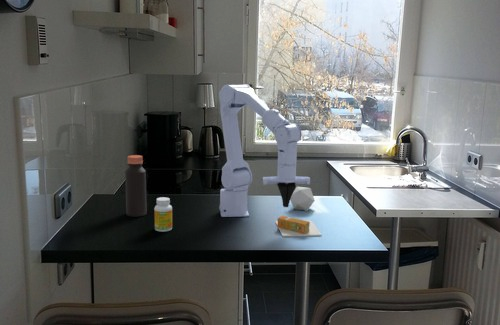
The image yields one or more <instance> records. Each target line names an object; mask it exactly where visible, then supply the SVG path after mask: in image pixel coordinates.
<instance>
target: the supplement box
mask: <svg viewBox="0 0 500 325" xmlns="http://www.w3.org/2000/svg"><path fill="white" fill-rule="evenodd" d="M277 221H278V226H277V228H278V229H279V228H282V229H286V230H290V231H294V232H298V233H302V234H305V233H307V232H309V225H310V222H309V221H305V220H304V219H300V218H294V217H290V216H286V215H282V216H279V217H277Z"/></svg>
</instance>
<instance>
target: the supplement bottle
mask: <svg viewBox="0 0 500 325" xmlns="http://www.w3.org/2000/svg"><path fill="white" fill-rule="evenodd" d="M170 199H171V198H169V197H164V196H162V197H161V196H160V197H157V198H156V205H155V206H154V208H153V210H154V230H155V231H157V232H162V233H163V232H164V233H165V232H169V231H171V230H172V229H173V206H172V205H171V204H170V203H171V200H170Z"/></svg>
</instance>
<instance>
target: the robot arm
mask: <svg viewBox="0 0 500 325" xmlns="http://www.w3.org/2000/svg"><path fill="white" fill-rule="evenodd" d="M218 97H219V104H220V105H219V106H220V108H219V112H220V117H221V118H220V120H221V125H222V133H223V140H224V147H225V148H224V149H225V155H226V163H225V164H224V165H223V166H222V167H221V180H220V181H221V184H222V186H223V187H224V188H221V189H220V190H219V192H220V195H219V196H220V197H219V201H220V202H219V206H218V207H219V211H220V212H219V213H220V217H221V218H222V217H223V218H226V217H227V218H228V217H229V218H230V217H234V218H235V217H239V218H240V217H249V216H250V214H249V211H248V189H249V188H250V185H251V184H252V182H253V173H252V170H251V169H250V165H249V163H248V162H247V161H245V160H244V156H243V149H242V142H241V134H240V126H239V119H238V113H239V112H240V110H241V109H243V108H244V107H245V106H248V108H250V109H251V110H252V111H253V112H255V113H256V114H257V115H258V116H259V117H261V123H262V124H263V125H264V126H265V127H266V128H267V129H268V130H269V131H271V132H272V133H273V135H274V140H275V141H276V148H277V150H278V151H277V175H274V176H262V184H263V186H264V185H276V186H277V188H278V190H279V194H280V196H281V200H282V206H283V208H289V205H290V202H291V200H290V199H291V196H292V194H293V192H294V190H295V189H296V187H297V185H299V184H300V185H302V184H303V185H305V184H306V185H311V178H310V177H309V176H297V158H298V157H297V156H298V154H297V153H298V142H299V141H300V140H301V138H302V130H301V128H300V127H299V125H298V124H297V123H291V122H290V120H288V119H286V118H285V117H284V116H283V115H281V114H280V110H278V109H276V108H275V109H274V108H269V107H268V106H267V105H266V104H265V103H264V102H263V101H262V99H260V97H258V96H257V94H256V93H255V89H253V87H251V86H250V85H249V84H246V83H245V84H244V83H243V84H225V85H223V86H222V87H221V89H220V91H219V92H218Z"/></svg>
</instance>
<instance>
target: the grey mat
mask: <svg viewBox="0 0 500 325" xmlns="http://www.w3.org/2000/svg"><path fill="white" fill-rule="evenodd" d="M304 221H309V222H310V225H309V232H307V233H305V234H302V233H298V232H294V231H290V230H286V229H282V228H278V230H279V232H280V234H281V236H282V237H283V238H284V237H287V238H288V237H322V235H323V234H322V233H321V232H320V230H319V229H318V228H317V226H316V225H315V223H314V222H313V221H312V220H308V219H307V220H304ZM275 224H276V226H277V227H278V220H275Z"/></svg>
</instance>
